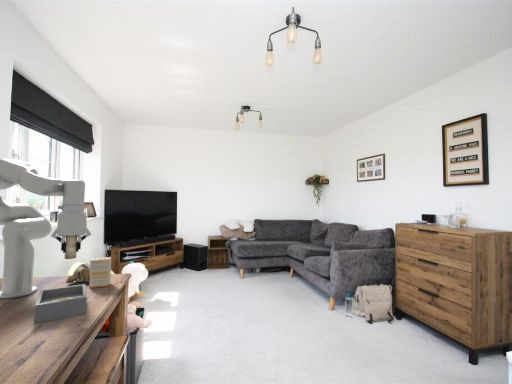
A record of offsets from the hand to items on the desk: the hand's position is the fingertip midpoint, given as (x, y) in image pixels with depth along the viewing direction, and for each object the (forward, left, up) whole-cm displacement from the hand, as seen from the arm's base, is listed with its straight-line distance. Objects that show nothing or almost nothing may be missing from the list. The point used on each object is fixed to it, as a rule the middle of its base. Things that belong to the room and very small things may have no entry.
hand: (70, 251), depth 109 cm
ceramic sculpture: (-20, +5, -19) cm, 29 cm away
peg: (0, 0, -3) cm, 3 cm away
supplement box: (-8, +12, -19) cm, 24 cm away
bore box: (+14, -2, -19) cm, 23 cm away
